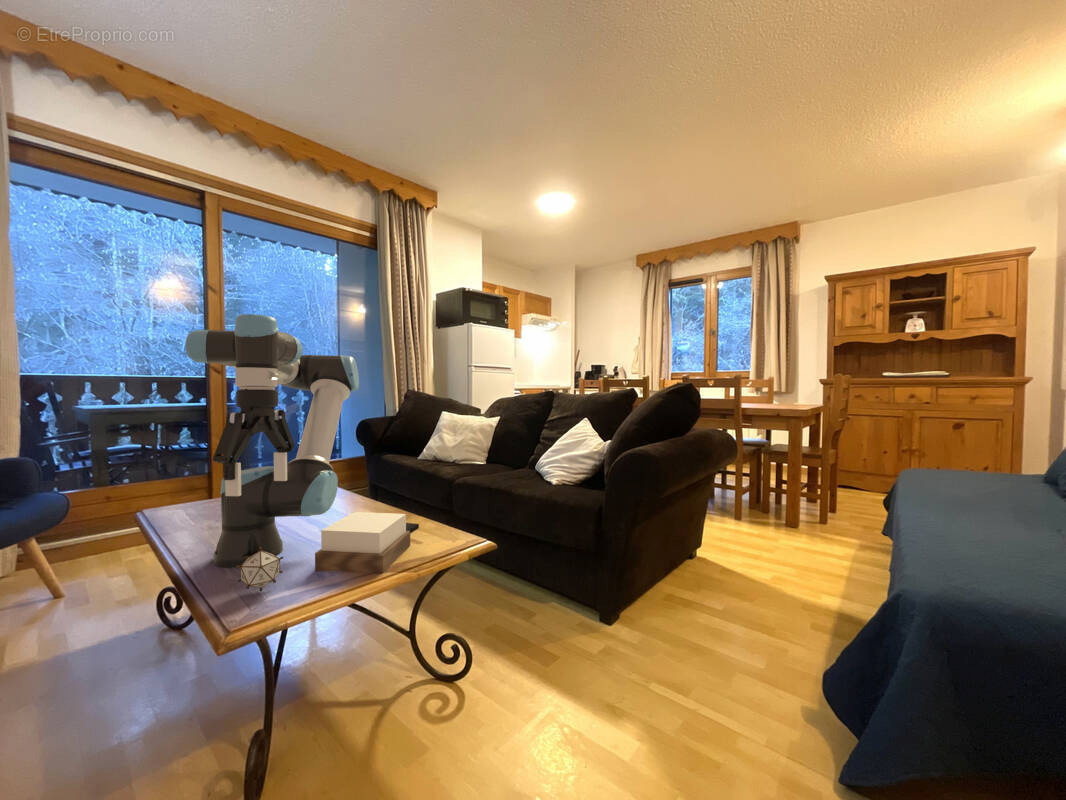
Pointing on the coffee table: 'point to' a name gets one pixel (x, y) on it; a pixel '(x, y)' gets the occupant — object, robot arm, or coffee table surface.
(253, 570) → the game die
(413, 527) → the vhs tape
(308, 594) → the coffee table surface
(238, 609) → the coffee table surface
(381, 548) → the cream slab
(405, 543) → the walnut slab
